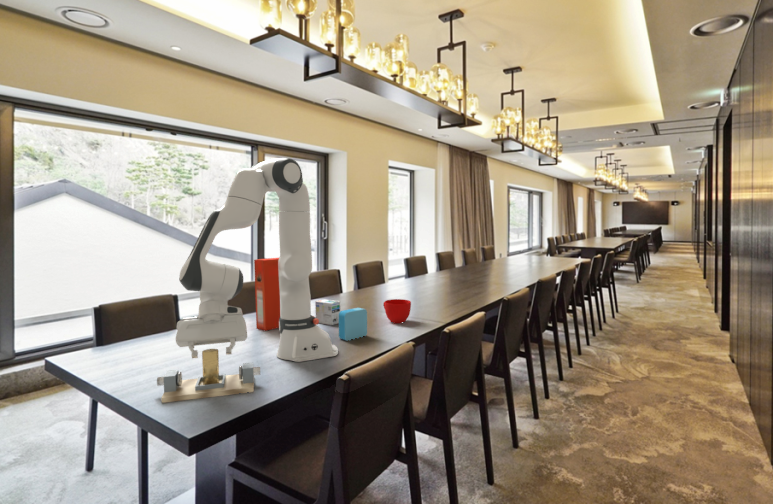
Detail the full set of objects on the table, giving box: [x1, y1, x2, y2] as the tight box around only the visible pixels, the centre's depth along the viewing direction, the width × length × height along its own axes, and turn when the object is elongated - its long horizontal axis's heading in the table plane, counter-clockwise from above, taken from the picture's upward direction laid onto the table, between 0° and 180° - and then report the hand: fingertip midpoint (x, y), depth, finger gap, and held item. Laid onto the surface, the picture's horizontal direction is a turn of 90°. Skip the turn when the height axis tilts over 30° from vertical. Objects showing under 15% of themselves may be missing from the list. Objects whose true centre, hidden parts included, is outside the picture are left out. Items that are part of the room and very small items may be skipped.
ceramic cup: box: [383, 298, 412, 324], centre depth 205 cm, size 13×17×10 cm
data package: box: [338, 307, 368, 342], centre depth 176 cm, size 12×4×12 cm, turn 133°
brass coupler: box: [201, 348, 220, 385], centre depth 123 cm, size 4×4×10 cm
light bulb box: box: [314, 298, 341, 326], centre depth 202 cm, size 11×7×11 cm, turn 58°
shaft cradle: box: [156, 362, 261, 404], centre depth 123 cm, size 28×12×6 cm, turn 107°
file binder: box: [253, 257, 280, 332], centre depth 195 cm, size 8×17×32 cm, turn 139°
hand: (211, 355), depth 124 cm, fingers open, 8 cm apart
